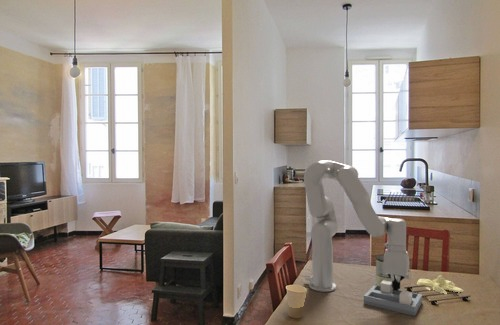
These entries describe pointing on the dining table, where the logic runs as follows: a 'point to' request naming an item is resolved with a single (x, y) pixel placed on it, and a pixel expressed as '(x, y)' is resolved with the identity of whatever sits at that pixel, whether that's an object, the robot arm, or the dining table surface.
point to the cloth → (439, 285)
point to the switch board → (392, 300)
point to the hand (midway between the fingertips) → (396, 289)
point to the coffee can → (381, 271)
